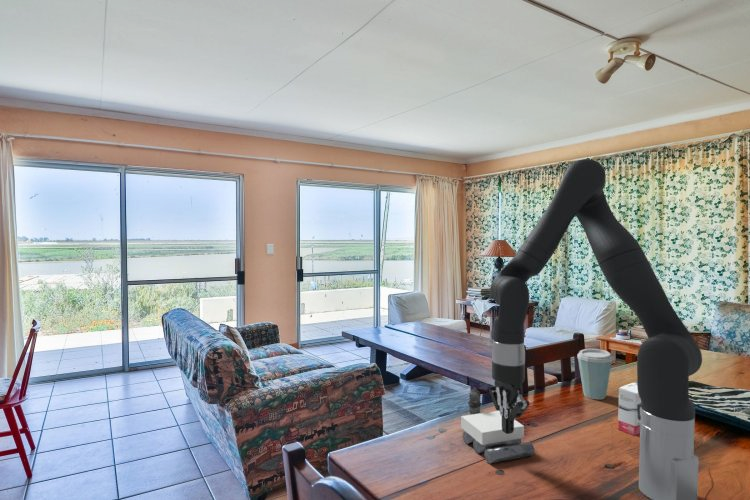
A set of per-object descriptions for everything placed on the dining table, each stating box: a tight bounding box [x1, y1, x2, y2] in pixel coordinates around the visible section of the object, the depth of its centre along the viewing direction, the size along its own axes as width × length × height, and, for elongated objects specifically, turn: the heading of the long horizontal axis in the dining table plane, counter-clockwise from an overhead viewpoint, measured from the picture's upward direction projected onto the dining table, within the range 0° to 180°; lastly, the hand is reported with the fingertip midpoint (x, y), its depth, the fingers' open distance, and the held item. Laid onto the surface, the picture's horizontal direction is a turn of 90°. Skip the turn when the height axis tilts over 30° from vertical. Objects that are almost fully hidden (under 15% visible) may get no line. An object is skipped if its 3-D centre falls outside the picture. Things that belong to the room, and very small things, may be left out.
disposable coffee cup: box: [577, 348, 613, 400], centre depth 145 cm, size 11×11×15 cm
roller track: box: [462, 430, 536, 464], centre depth 109 cm, size 13×12×3 cm
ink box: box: [617, 382, 641, 436], centre depth 120 cm, size 8×5×12 cm, turn 123°
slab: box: [460, 410, 525, 445], centre depth 111 cm, size 10×12×3 cm
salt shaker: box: [463, 386, 482, 416], centre depth 119 cm, size 6×6×12 cm
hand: (507, 432), depth 104 cm, fingers closed
